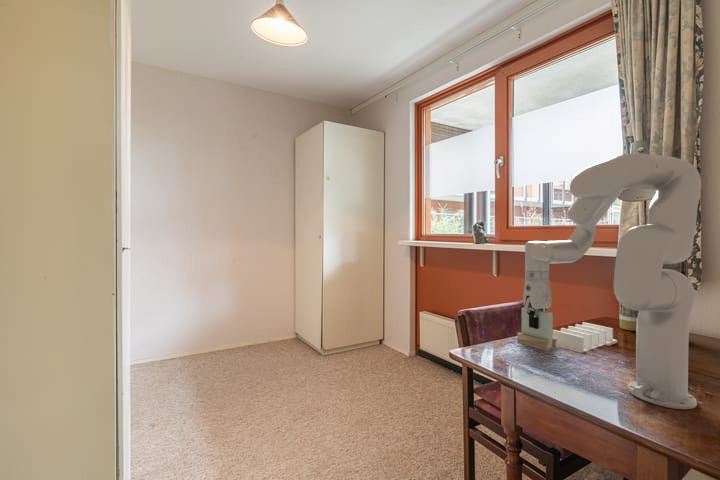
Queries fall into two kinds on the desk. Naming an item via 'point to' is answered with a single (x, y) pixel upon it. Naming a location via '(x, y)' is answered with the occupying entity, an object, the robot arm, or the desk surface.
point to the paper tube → (628, 318)
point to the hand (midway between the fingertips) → (536, 326)
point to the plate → (539, 326)
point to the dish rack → (584, 337)
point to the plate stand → (536, 341)
